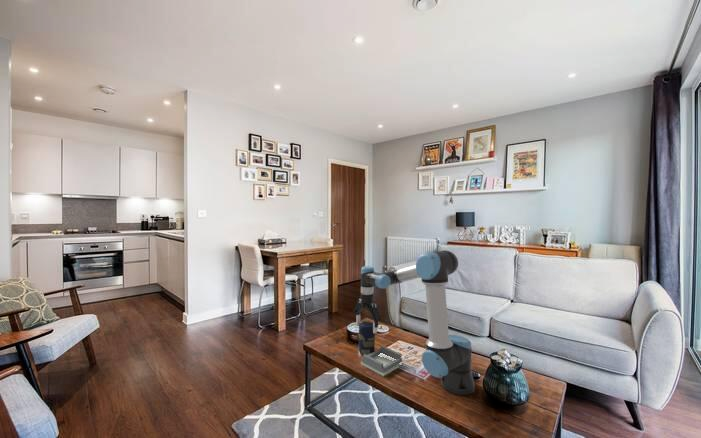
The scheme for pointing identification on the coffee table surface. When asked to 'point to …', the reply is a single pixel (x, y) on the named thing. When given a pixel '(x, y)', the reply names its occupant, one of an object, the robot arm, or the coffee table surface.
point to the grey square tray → (382, 361)
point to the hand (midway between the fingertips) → (366, 329)
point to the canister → (366, 338)
